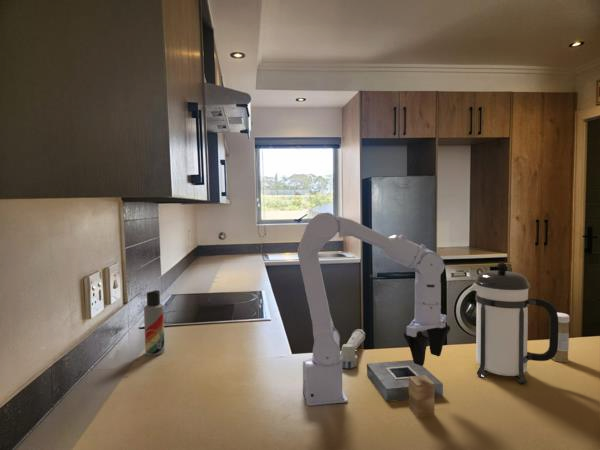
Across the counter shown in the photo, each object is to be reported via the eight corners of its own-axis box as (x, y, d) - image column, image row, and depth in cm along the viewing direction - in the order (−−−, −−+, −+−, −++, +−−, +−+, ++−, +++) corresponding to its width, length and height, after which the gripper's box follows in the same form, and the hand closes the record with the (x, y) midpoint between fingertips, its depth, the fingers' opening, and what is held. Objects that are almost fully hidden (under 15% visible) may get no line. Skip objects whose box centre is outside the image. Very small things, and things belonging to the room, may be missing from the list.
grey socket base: (386, 401, 85) (386, 388, 85) (366, 374, 99) (366, 362, 98) (442, 395, 87) (442, 382, 87) (415, 370, 101) (415, 358, 100)
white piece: (367, 328, 125) (355, 345, 101) (367, 348, 124) (355, 369, 100) (352, 327, 126) (336, 343, 103) (352, 347, 126) (336, 367, 102)
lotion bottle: (153, 357, 112) (151, 293, 111) (141, 354, 115) (139, 291, 114) (168, 351, 117) (166, 289, 116) (156, 347, 120) (154, 287, 119)
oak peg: (417, 416, 78) (416, 385, 78) (408, 406, 82) (408, 376, 82) (434, 415, 79) (434, 383, 79) (425, 405, 83) (425, 375, 83)
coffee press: (501, 391, 88) (502, 269, 87) (458, 364, 104) (459, 260, 103) (559, 382, 92) (561, 265, 91) (509, 357, 108) (510, 257, 107)
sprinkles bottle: (546, 355, 109) (547, 311, 108) (563, 357, 108) (564, 312, 107) (554, 362, 104) (554, 316, 104) (572, 363, 103) (572, 316, 103)
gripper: (427, 311, 76) (427, 374, 77) (459, 299, 86) (458, 355, 87) (398, 304, 82) (398, 364, 82) (431, 294, 91) (431, 347, 92)
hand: (427, 359), depth 85 cm, fingers open, 7 cm apart
